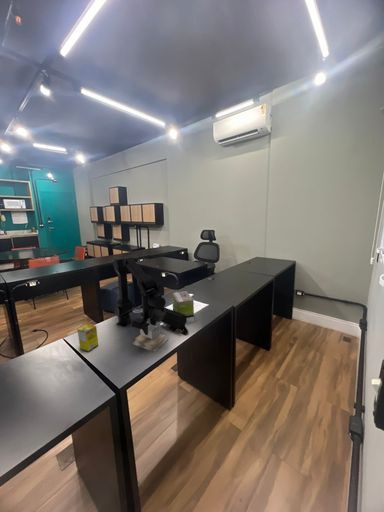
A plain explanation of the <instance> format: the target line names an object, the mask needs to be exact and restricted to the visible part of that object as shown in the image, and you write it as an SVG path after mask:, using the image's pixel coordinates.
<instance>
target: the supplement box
mask: <svg viewBox="0 0 384 512" xmlns="http://www.w3.org/2000/svg"><path fill="white" fill-rule="evenodd" d="M77 337H78V344H79V350H81V351H83V352H87V353H90V352H91V351H93V350H94V349H96V348H97V347H99V338H98V329H97V325H94V324H92V323H86V324H84V325H83V326H80V327H79V328H77Z"/></svg>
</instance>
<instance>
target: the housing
mask: <svg viewBox="0 0 384 512" xmlns="http://www.w3.org/2000/svg"><path fill="white" fill-rule="evenodd" d="M149 324H150V323H149ZM139 330H140V331H139V332H140V334H141V335H142V336H145V337H148V338H151V339H155V338H156V337H157V336H158V335H159V334H161V333H160V332H161V331H160V326H158V325H156V326H154V325H151V324H150V325H149V326H148V335H145V333H144V332H143V330H142V329H139Z"/></svg>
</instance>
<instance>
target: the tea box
mask: <svg viewBox="0 0 384 512" xmlns="http://www.w3.org/2000/svg"><path fill="white" fill-rule="evenodd" d="M171 294H172V295H171V296H172V297H171V298H172V299H171V301H172V310H173V311H176V312H179V313H182V314H185V315H186V318H187V323H186V324H185V325H187V324H192V323H195V315H194V314H195V311H194V310H195V309H194V307H195V306H194V305H195V303H194V298H193V297H192V296H191V295H190V293H189V292H188V291H187V290H184V291H177V292H172V293H171Z"/></svg>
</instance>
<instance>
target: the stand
mask: <svg viewBox="0 0 384 512" xmlns="http://www.w3.org/2000/svg"><path fill="white" fill-rule="evenodd" d="M168 341H169V338H168V337H166V335H165V334H162V333H160V334H159V335H158V336H157V337H156V338H155V339H151V338H148V337H145V336H142V335H141V333H140V334H139V335H137V336H136V337H135V338H134V341H133V342H132V343H131V344H132V345H133V346H137V347H139V348H142V349H145V350H147V351H150V352H153V353H157V351H158V350H159V349H160V348H162V346H164V345H165V344H166V343H167V342H168Z"/></svg>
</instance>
